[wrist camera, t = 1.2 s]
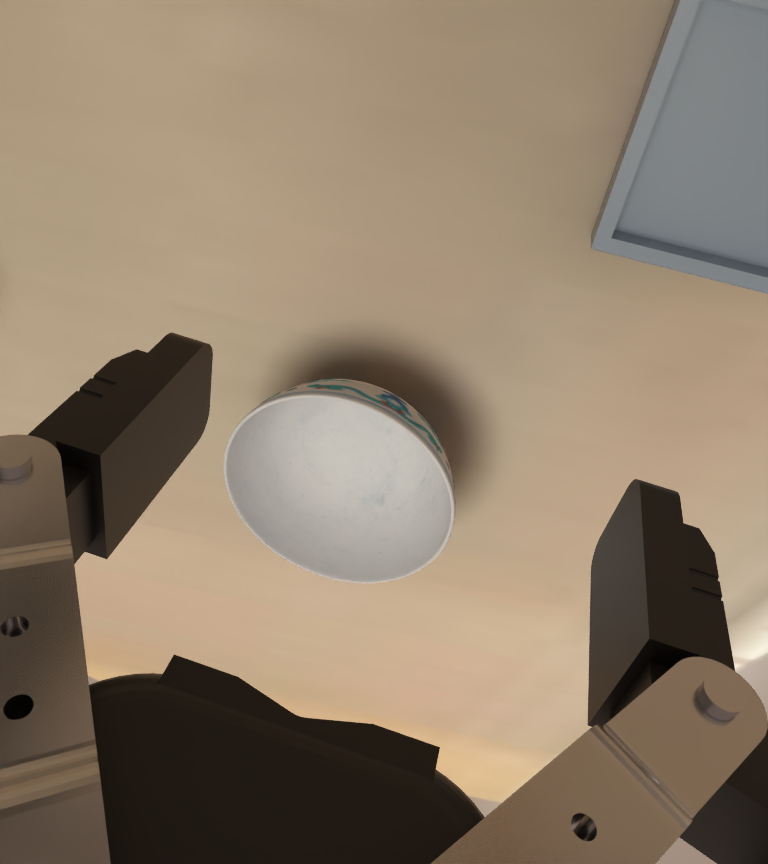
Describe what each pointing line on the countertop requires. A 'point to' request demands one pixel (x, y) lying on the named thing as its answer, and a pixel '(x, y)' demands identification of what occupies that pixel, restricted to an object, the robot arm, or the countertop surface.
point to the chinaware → (342, 481)
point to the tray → (698, 150)
